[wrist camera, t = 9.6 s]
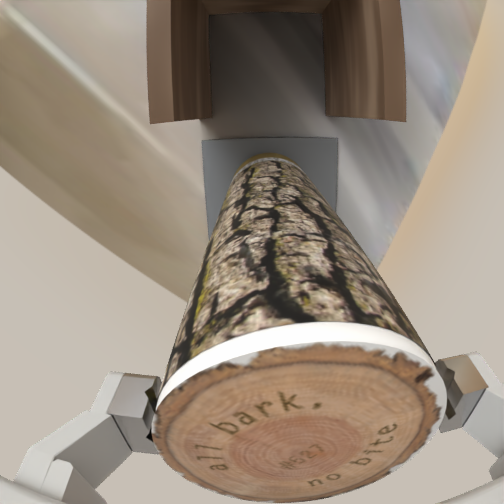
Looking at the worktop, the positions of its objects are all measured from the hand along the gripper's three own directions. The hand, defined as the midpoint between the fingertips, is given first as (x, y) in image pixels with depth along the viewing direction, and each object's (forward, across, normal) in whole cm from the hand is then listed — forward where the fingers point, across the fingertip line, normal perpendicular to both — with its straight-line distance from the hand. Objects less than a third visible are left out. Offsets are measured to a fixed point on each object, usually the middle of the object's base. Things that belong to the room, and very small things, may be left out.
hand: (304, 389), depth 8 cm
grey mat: (+23, 0, 0) cm, 23 cm away
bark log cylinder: (+23, 0, 0) cm, 23 cm away
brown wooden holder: (+23, 0, -12) cm, 26 cm away
